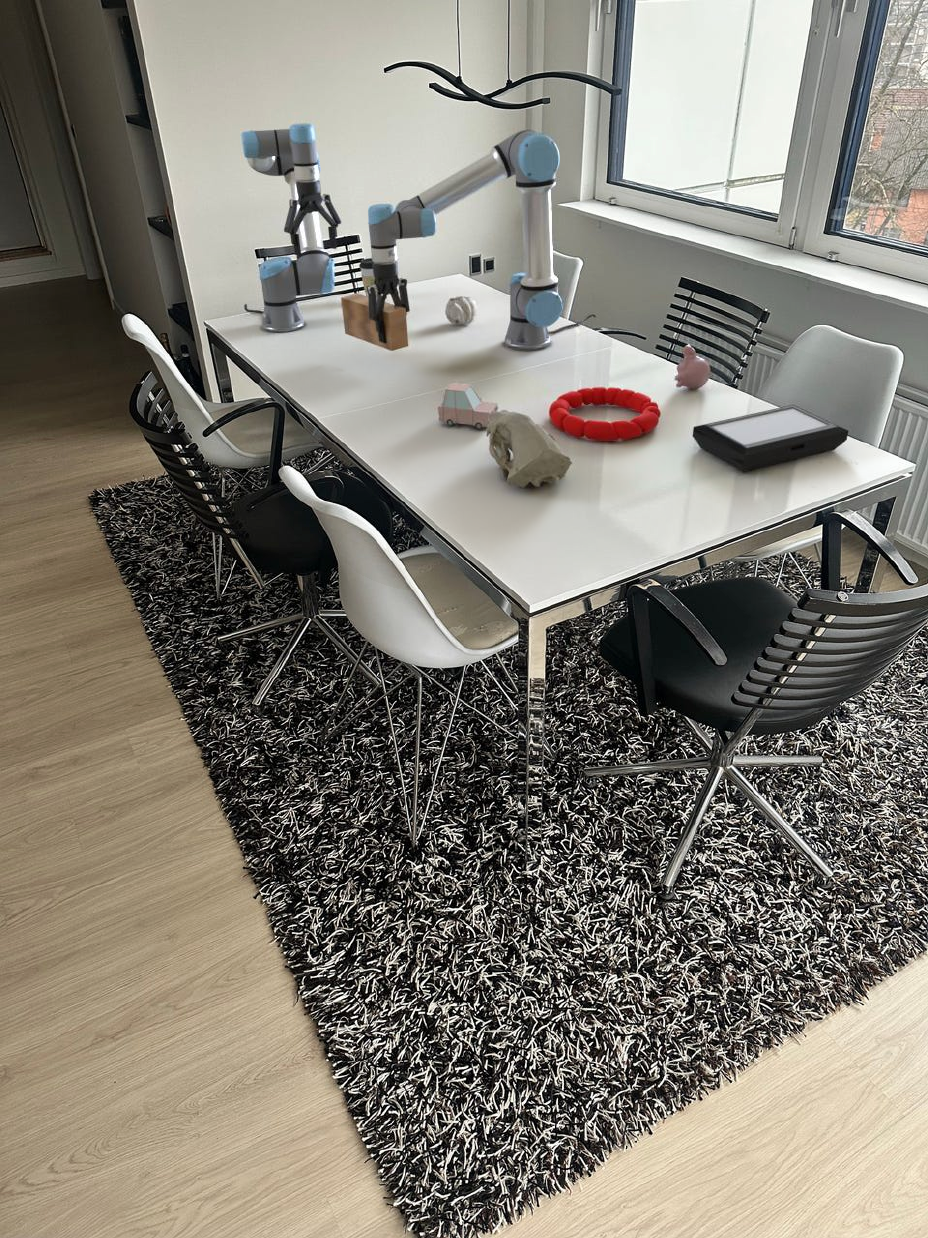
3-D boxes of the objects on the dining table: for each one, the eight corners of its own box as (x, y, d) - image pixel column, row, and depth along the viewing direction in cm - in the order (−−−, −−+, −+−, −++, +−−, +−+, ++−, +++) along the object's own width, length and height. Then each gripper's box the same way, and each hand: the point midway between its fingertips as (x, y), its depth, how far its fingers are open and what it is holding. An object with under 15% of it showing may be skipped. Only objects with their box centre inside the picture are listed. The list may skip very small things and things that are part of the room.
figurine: (665, 387, 264) (669, 347, 257) (693, 380, 268) (698, 340, 261) (686, 396, 257) (690, 355, 250) (714, 388, 262) (720, 348, 255)
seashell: (437, 324, 323) (436, 295, 317) (473, 317, 329) (473, 289, 323) (451, 331, 315) (450, 302, 310) (487, 324, 321) (487, 295, 316)
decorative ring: (589, 435, 224) (684, 402, 234) (527, 398, 247) (617, 369, 256) (589, 461, 229) (683, 427, 238) (529, 422, 251) (617, 393, 260)
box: (345, 333, 291) (340, 297, 284) (361, 329, 294) (357, 293, 288) (392, 351, 274) (388, 312, 268) (408, 346, 278) (405, 308, 271)
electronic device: (745, 452, 210) (694, 423, 225) (741, 476, 213) (691, 446, 228) (849, 427, 220) (793, 401, 235) (844, 450, 224) (789, 423, 239)
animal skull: (496, 517, 219) (521, 479, 201) (463, 429, 225) (484, 384, 207) (557, 503, 225) (586, 465, 206) (523, 417, 231) (549, 373, 212)
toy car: (488, 432, 240) (488, 396, 234) (436, 426, 244) (434, 390, 239) (499, 419, 247) (499, 384, 241) (448, 413, 252) (447, 379, 246)
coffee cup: (386, 303, 348) (383, 263, 339) (361, 304, 348) (357, 263, 339) (388, 296, 356) (385, 257, 347) (363, 297, 356) (360, 257, 347)
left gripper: (279, 186, 270) (289, 260, 282) (347, 176, 283) (354, 246, 295) (266, 183, 275) (276, 256, 287) (334, 173, 288) (341, 243, 300)
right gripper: (365, 269, 257) (373, 349, 270) (418, 257, 267) (423, 334, 280) (350, 265, 262) (359, 343, 275) (403, 253, 272) (409, 329, 285)
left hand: (316, 251), depth 291 cm, fingers open, 13 cm apart
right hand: (391, 339), depth 278 cm, fingers closed on box, 6 cm apart
